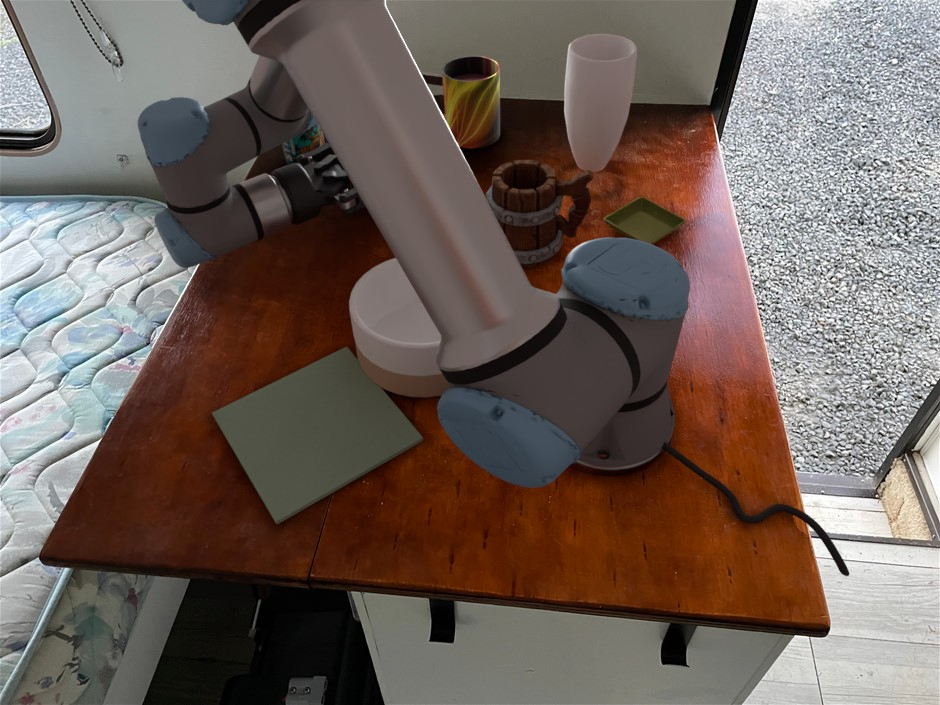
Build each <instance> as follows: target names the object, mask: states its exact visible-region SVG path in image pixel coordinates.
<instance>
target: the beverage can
mask: <svg viewBox="0 0 940 705" xmlns="http://www.w3.org/2000/svg"><path fill="white" fill-rule="evenodd" d="M324 144H326V143H325V136H324V134H323V132H322V130H321V129H320V127H319V125H318V124H315V125H314V126H312V127H311V128H309V129H308V130H306V131H305V132H304V133H303V134H302V135H300V136H298V137H295V138H292V139H290V140H288V141H286V142H284V143H282V144H281V147H282V151H283V155H284V159H285V162H286V166H287V165H289V164H292V163H297V164H298V161H297V156H298V155H300V154H304V153H307V152H311V151H313V150H315V149H316V148H318V147H320V146H322V145H324Z"/></svg>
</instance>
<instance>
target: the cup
mask: <svg viewBox="0 0 940 705" xmlns="http://www.w3.org/2000/svg"><path fill="white" fill-rule="evenodd" d="M566 55H567V56H566V65H565V75H564V96H563V97H564V99H563V102H564V103H563V104H564V105H563V113H564V121H565V127H566V134H567V139H568V140H567V141H568V143H569V146H570V150H571V154H572V156H573V159H574V160H575V161H574V162H575V163H576V166H577V168H578V169H579V170H581V171H583V172H584V171H586V170H590V171H592V172H593V173H596V172H600V171H603V170H604V169H605V168H606V167H607V165H608V164H609V162H610V161H611V159H612V157H613V155H614V153H615V151H616V149H617V148H618V146H619V143H620V141H621V138H622V135H623V132H624V129H625V127H626V124H627V121H628V118H629V114H630V109H631V108H630V107H631V103H632V97H633V93H634V86H635V77H636V67H637V57H638V46H637V45H636V44H635V43H634V41H633V40H631V39H629V38H627V37H625V36H622V35H618V34H613V33H593V34H592V33H591V34H585V35H582V36H580V37H577V38H575V39H574V40H573V41H571V42H570V43H569V45H568V48H567V54H566Z"/></svg>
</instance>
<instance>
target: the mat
mask: <svg viewBox="0 0 940 705" xmlns="http://www.w3.org/2000/svg"><path fill="white" fill-rule="evenodd" d="M211 415H212V417H213V418H214V420H215V422H216V423H217V426H218V427H219V429H220V430H221V432H222V434H223V435H224V437H225V439H226V441H227V442H228V444H229V446H230V448H231V449H232V451H233V452H234V455H235V456H236V458H237V460H238V461H239V463H240V465H241V467H242V468H243V470H244V472H245V474H246V475H247V477H248V479H249V480H250V482H251V483H252V486H253V487H254V489H255V491H256V492H257V494H258V495H259V497H260V499H261V500H262V502H263V504H264V506H265V508H266V509H267V511H268V513H269V514H270V516H271V518H272V520H273V521H274V523H275V525H277V526H278V525H279V524H281V523H282V522H285V521H286V520H288V519H289V518H292V517H293V516H295V515H297V514H298V513H301V512H302V511H303V510H305V509H307V508H308V507H311V506H312V505H314V504H316V503H317V502H319V501H321V500H323V499H325V498H326V497H329V495H332V494H334V493H335V492H337V491H338V490H340V489H342V488H344V487H346V486H348V485H349V484H351V483H352V482H354V481H356V480H358V479H359V478H362V477H363V476H364V475H367V474H368V473H370V472H371V471H373V470H376V468H378V467H380V466H382V465H384V464H385V463H387V462H388V461H391V460H392V459H394V458H396V457H398V456H399V455H401V454H403V453H404V452H406V451H408V450H410V449H412V448H413V447H415V446H417V445H418V444H421V443H422V442H423V441H424V437H423V435H421V433H420V432H419V431H418V429H417V428H416V427H415V426H414V425H413V423H412V422H411V421H410V420H409V419H408V417H407V416H406V415H405V414H404V413H403V412H402V411H401V409H400V408H399V407H398V406H397V404H396V403H395V402H394V401H393V400H392V398H391V397H390V396H389V395H388V394H387V392H386V390H385V389H384V388H382V387H380V386H378V385H377V384H375V383H374V382H373V381H372V380H371V379H370V378H368V377H367V375H366V374H365V372H364V371H363V369H362V368H361V366H360V363H359V360H358V357H356V355H355V354H354V353H353V352H352V351H351V349H350V348H349V347H348V346H345V347H343V348H340V349H339V350H336V351H335V352H332V353H330V354H328V355H326V356H324V357H322V358H320V359H318V360H316V361H314V362H312V363H310V364H308V365H306V366H304V367H302V368H300V369H298V370H296V371H294V372H292V373H290V374H288V375H286V376H283V377H281V378H280V379H277V380H275V381H273V382H271V383H269V384H267V385H265V386H263V387H261V388H259V389H257V390H255V391H253V392H251V393H249V394H247V395H245V396H242V397H241V398H239V399H237V400H235V401H233V402H231V403H228V404H226V405H225V406H223V407H220V408H218V409H217V410H214V411H212V412H211Z"/></svg>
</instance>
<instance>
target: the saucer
mask: <svg viewBox="0 0 940 705" xmlns="http://www.w3.org/2000/svg"><path fill="white" fill-rule="evenodd" d="M603 221H604V222H605V224H606V225H607V226H608V227H609V228H610V229H612V230H613V231H614V232H616V233H618V234H619V235H621V236H623V237H624V238H630V239H635V240H639V241H643V242H646V243H649V244H652V245H654V244H655V243H657V242H659V241H660V240H662V239H664V238H665V237H667V236H668V235H670V234H671V233H673V232H674V231H676V230H677V229H680V228H681V227H682V226H683V225H684V224H685V223H686V222H687V220H686V219H685V218H683V217H682V216H680V215H678V214H676V213H675V212H672V211H670V210H669V209H667V208H665V207H663V206H661V205H659V204H658V203H656V202H654V201H652V200H650V199H649V198H647V197H645V196H639V197H636V198H635V199H634V200H631V201H630V202H629V203H626V204H625V205H623V206H622V207H620V208H618V209H616V210H614V211H613V212H611V213H609V214H608V215H606V216H605V217H603Z"/></svg>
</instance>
